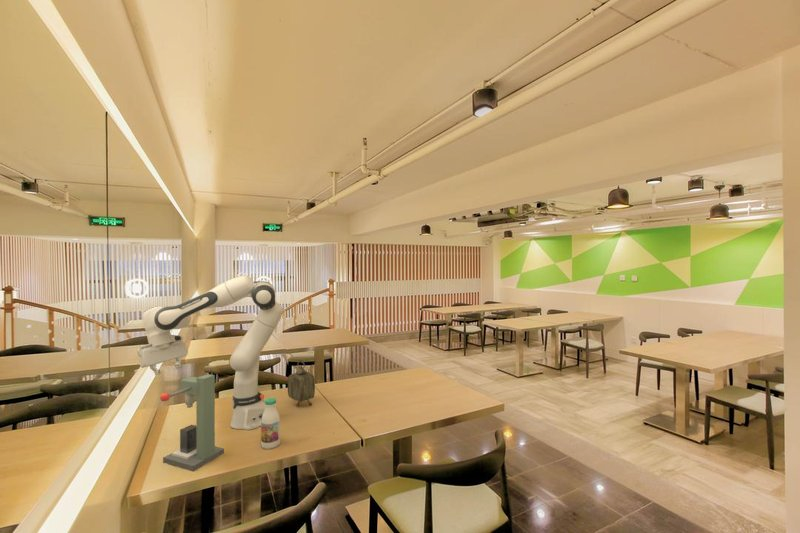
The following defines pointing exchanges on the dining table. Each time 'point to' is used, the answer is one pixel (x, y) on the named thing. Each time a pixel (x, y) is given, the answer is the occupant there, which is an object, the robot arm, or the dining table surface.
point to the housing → (188, 439)
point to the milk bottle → (270, 425)
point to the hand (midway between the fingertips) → (168, 371)
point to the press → (198, 422)
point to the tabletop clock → (301, 385)
